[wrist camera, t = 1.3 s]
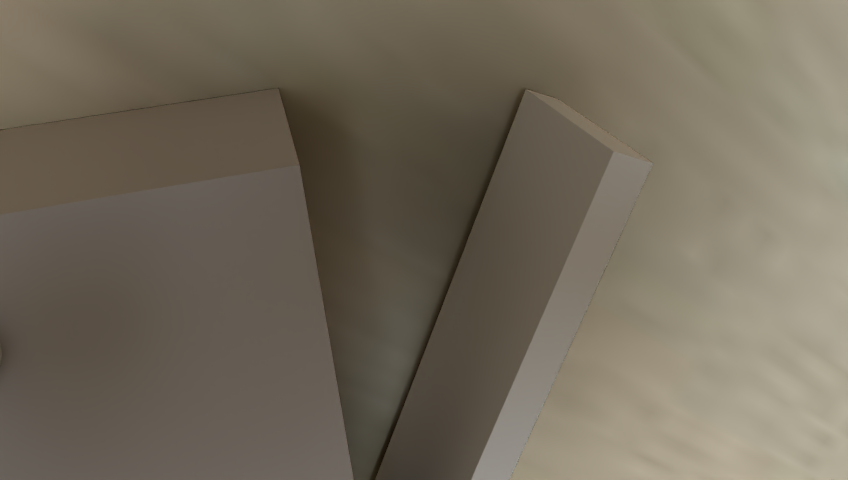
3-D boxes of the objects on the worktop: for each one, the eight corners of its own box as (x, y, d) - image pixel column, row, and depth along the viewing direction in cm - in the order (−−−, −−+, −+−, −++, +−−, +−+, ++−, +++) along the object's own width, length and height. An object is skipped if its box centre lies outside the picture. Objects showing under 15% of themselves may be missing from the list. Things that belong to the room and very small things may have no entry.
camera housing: (359, 547, 27) (399, 738, 21) (52, 623, 26) (2, 853, 20) (278, 88, 20) (303, 179, 14) (-150, 152, 19) (-324, 286, 13)
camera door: (413, 503, 27) (456, 642, 22) (367, 498, 26) (401, 639, 21) (577, 105, 22) (676, 170, 17) (525, 89, 22) (613, 151, 17)
